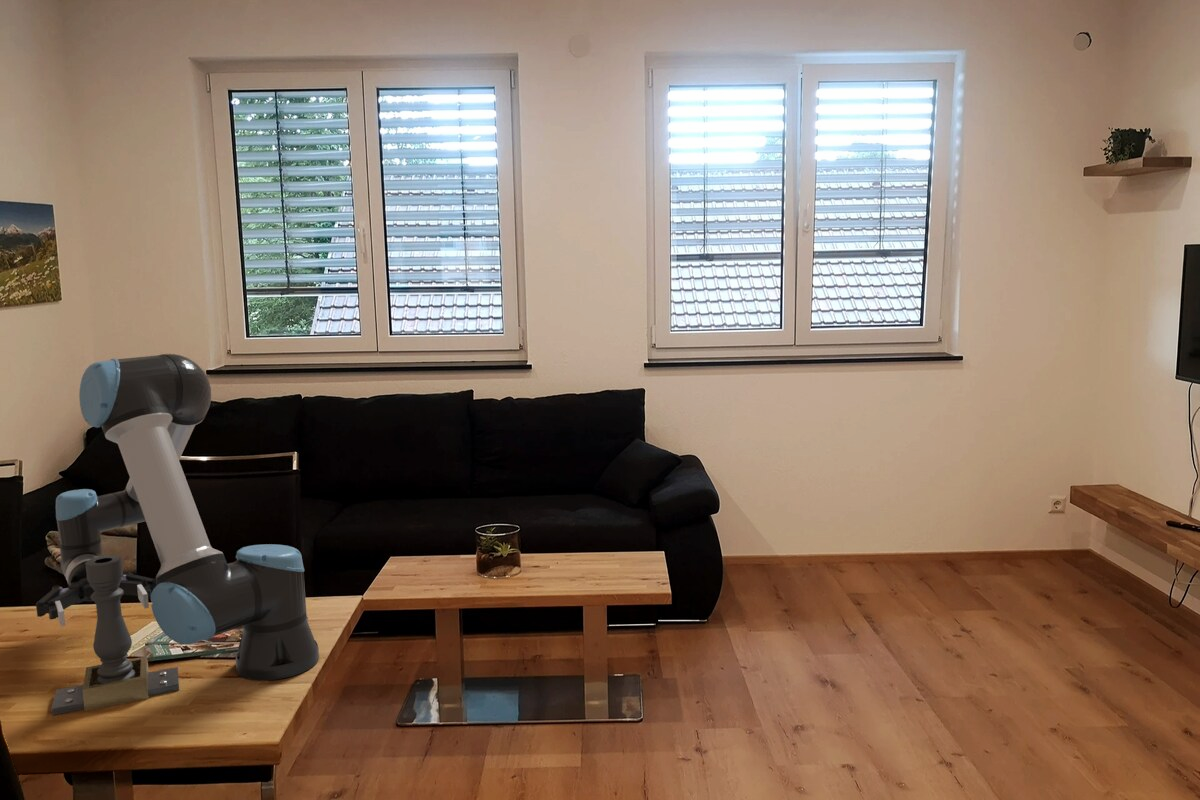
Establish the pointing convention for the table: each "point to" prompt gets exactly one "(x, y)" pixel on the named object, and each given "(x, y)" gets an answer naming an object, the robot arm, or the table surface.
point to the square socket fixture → (115, 688)
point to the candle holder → (109, 619)
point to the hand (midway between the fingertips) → (105, 609)
